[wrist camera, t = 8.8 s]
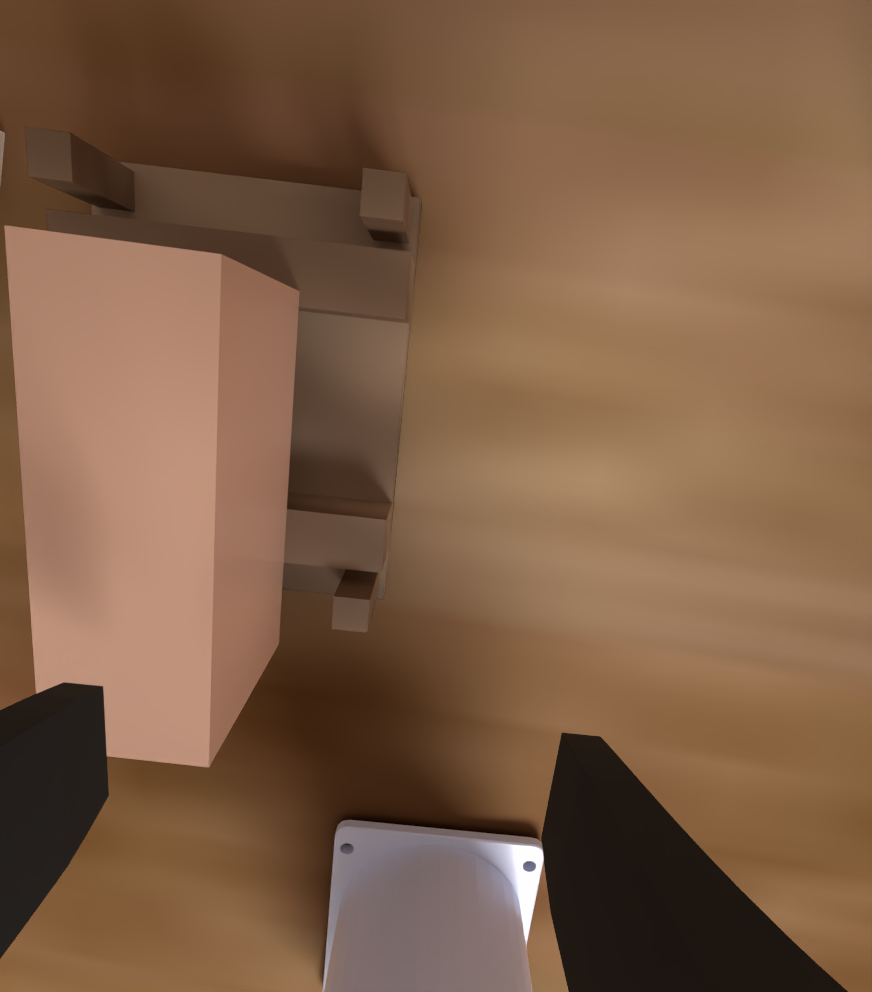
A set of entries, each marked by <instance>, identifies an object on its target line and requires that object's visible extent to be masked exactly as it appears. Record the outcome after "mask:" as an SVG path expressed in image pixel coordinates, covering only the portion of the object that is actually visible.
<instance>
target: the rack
mask: <svg viewBox="0 0 872 992" xmlns="http://www.w3.org/2000/svg"><path fill="white" fill-rule="evenodd" d="M25 135H26V149H27V163H28V177H31V178H33V179H35V180H37V181H40V182H42V183H44V184H47V185H49V186H51V187H53V188H56V189H58V190H60V191H62V192H65V193H67V194H69V195H71V196H74V197H76V198H78V199H80V200H83V201H85V202H87V203H89V204H91V210H92V214H85V213H77V212H68V211H60V210H51V209H46V216H47V231H51V232H59V233H66V234H74V235H82V236H89V237H97V238H104V239H112V240H119V241H127V242H134V243H142V244H149V245H157V246H164V247H172V248H179V249H187V250H194V251H202V252H209V253H217V254H222V255H224V256H226V257H229V258H231V259H233V260H235V261H237V262H239V263H241V264H243V265H245V266H247V267H249V268H252V269H254V270H256V271H258V272H260V273H262V274H264V275H266V276H268V277H270V278H273V279H275V280H277V281H279V282H281V283H283V284H285V285H287V286H289V287H291V288H293V289H296V290H298V291H300V294H299V311H298V328H297V345H296V362H295V379H294V396H293V413H292V430H291V446H290V463H289V480H288V497H287V514H286V531H285V548H284V565H283V582H282V589H286V590H296V591H305V592H315V593H324V594H334V598H333V613H332V627H331V629H336V630H345V631H355V632H365V633H367V631H368V627H369V623H370V620H371V616H372V612H373V609H374V605H375V601H376V599H381V600H383V598H384V594H385V590H386V579H387V569H388V558H389V548H390V537H391V526H392V516H393V505H394V495H395V484H396V473H397V463H398V452H399V441H400V431H401V420H402V410H403V399H404V388H405V378H406V367H407V357H408V346H409V335H410V325H411V314H412V303H413V293H414V282H415V272H416V261H417V250H418V240H419V229H420V219H421V208H422V204H421V198H419V197H411V193H410V187H409V182H408V176H407V173H403V172H394V171H386V170H378V169H370V168H363V175H362V189H361V190H352V189H344V188H336V187H327V186H319V185H311V184H302V183H294V182H286V181H277V180H269V179H261V178H252V177H244V176H236V175H227V174H219V173H210V172H202V171H194V170H185V169H177V168H169V167H160V166H152V165H144V164H135V163H127V162H119V161H116V160H114V159H113V158H111V157H109V156H108V155H106V154H104V153H103V152H101V151H100V150H98V149H96V148H95V147H93V146H91V145H90V144H88V143H86V142H85V141H83V140H82V139H80V138H78V137H77V136H75V135H73V134H72V133H70V132H63V131H54V130H46V129H38V128H29V127H25Z"/></svg>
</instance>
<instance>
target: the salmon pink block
mask: <svg viewBox="0 0 872 992" xmlns="http://www.w3.org/2000/svg"><path fill="white" fill-rule="evenodd" d="M4 226H5V241H6V256H7V271H8V285H9V300H10V315H11V330H12V345H13V359H14V374H15V389H16V404H17V418H18V433H19V448H20V463H21V478H22V492H23V507H24V522H25V537H26V551H27V566H28V581H29V596H30V611H31V625H32V640H33V655H34V670H35V684H36V694H37V693H39V692H41V691H44V690H46V689H49V688H51V687H54V686H56V685H59V684H61V683H63V682H66V683H76V684H86V685H96V686H103V691H104V711H105V732H106V752H107V756H111V757H120V758H129V759H138V760H147V761H156V762H165V763H174V764H182V765H191V766H200V767H209V766H210V765H211V763H212V761H213V759H214V758H215V756H216V754H217V752H218V750H219V749H220V747H221V745H222V743H223V742H224V740H225V738H226V736H227V735H228V733H229V731H230V729H231V728H232V726H233V724H234V722H235V721H236V719H237V717H238V715H239V713H240V712H241V710H242V708H243V706H244V705H245V703H246V701H247V699H248V698H249V696H250V694H251V692H252V691H253V689H254V687H255V685H256V684H257V682H258V680H259V678H260V677H261V675H262V673H263V671H264V669H265V668H266V666H267V664H268V662H269V661H270V659H271V657H272V655H273V654H274V652H275V650H276V648H277V647H278V645H279V633H280V616H281V599H282V582H283V565H284V548H285V531H286V514H287V497H288V480H289V463H290V446H291V430H292V413H293V396H294V379H295V362H296V345H297V328H298V311H299V294H300V291H298V290H296V289H293V288H291V287H289V286H287V285H285V284H283V283H281V282H279V281H277V280H275V279H273V278H270V277H268V276H266V275H264V274H262V273H260V272H258V271H256V270H254V269H252V268H249V267H247V266H245V265H243V264H241V263H239V262H237V261H235V260H233V259H231V258H229V257H226V256H224V255H222V254H217V253H209V252H202V251H194V250H187V249H179V248H172V247H164V246H157V245H149V244H142V243H134V242H127V241H119V240H112V239H104V238H97V237H89V236H82V235H74V234H66V233H59V232H51V231H44V230H36V229H29V228H21V227H14V226H6V225H4Z"/></svg>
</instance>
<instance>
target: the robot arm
mask: <svg viewBox="0 0 872 992" xmlns="http://www.w3.org/2000/svg"><path fill="white" fill-rule="evenodd" d="M108 796H109V793H108V772H107V752H106V732H105V711H104V691H103V686H96V685H86V684H76V683H66V682H63V683H61V684H59V685H56V686H54V687H51V688H49V689H46V690H44V691H41V692H39V693H37V694H35V695H32V696H30V697H28V698H26V699H24V700H21V701H19V702H17V703H15V704H13V705H11V706H9V707H6V708H4V709H2V710H0V958H1V957H2V956H3V954H4V953H5V952H6V950H7V949H8V947H9V946H10V945H11V943H12V942H13V941H14V939H15V938H16V937H17V935H18V934H19V933H20V931H21V930H22V929H23V927H24V926H25V924H26V923H27V922H28V920H29V919H30V918H31V916H32V915H33V913H34V912H35V911H36V909H37V908H38V907H39V905H40V904H41V902H42V901H43V900H44V898H45V897H46V896H47V894H48V893H49V891H50V890H51V889H52V887H53V886H54V885H55V883H56V882H57V880H58V879H59V878H60V876H61V875H62V873H63V872H64V870H65V869H66V868H67V866H68V865H69V863H70V861H71V860H72V858H73V856H74V855H75V853H76V851H77V850H78V848H79V846H80V845H81V843H82V841H83V840H84V838H85V836H86V835H87V833H88V831H89V829H90V828H91V826H92V824H93V822H94V821H95V819H96V817H97V815H98V814H99V812H100V810H101V808H102V806H103V805H104V803H105V801H106V799H107V798H108ZM541 839H542V843H541V842H540V841H539V840H538V839H536V838H532V837H522V836H512V835H501V834H491V833H481V832H471V831H460V830H450V829H440V828H430V827H419V826H409V825H399V824H389V823H378V822H368V821H358V820H344V821H342V822H340V823H339V824H338V826H337V829H336V833H335V841H334V854H333V866H332V879H331V892H330V905H329V917H328V930H327V943H326V955H325V968H324V981H323V992H533V990H532V983H531V976H530V969H529V962H528V955H527V948H526V945H527V940H528V935H529V930H530V925H531V920H532V915H533V910H534V905H535V900H536V895H537V890H538V885H539V880H540V875H541V870H542V865H543V860H544V864H545V873H546V881H547V888H548V895H549V903H550V910H551V915H552V920H553V924H554V929H555V933H556V938H557V942H558V946H559V951H560V955H561V959H562V964H563V968H564V972H565V977H566V981H567V985H568V990H569V992H848V991H847V990H845V989H844V988H843V987H842V986H841V985H840V984H839V983H838V982H836V981H835V980H834V979H833V978H832V977H831V976H830V975H829V974H828V973H826V972H825V971H824V970H823V969H822V968H821V967H820V966H819V965H818V964H817V963H815V962H814V961H813V960H812V959H811V958H810V957H809V956H808V955H807V954H806V953H805V952H804V951H803V950H802V949H801V948H799V947H798V946H797V945H796V944H795V943H794V942H793V941H792V940H791V939H790V938H789V937H788V936H787V935H786V934H785V933H784V932H783V931H782V930H781V929H780V928H779V927H778V926H777V925H776V924H775V923H774V922H773V921H772V920H771V919H770V918H769V917H768V916H767V915H766V914H765V913H764V912H763V911H762V910H761V909H760V908H759V907H758V906H757V905H755V904H754V903H753V902H752V901H751V900H750V899H749V898H748V897H747V896H746V895H745V894H744V893H743V892H742V891H741V890H740V889H739V888H738V887H737V886H736V885H735V884H734V883H733V881H732V880H731V879H730V878H729V877H728V876H727V875H726V874H725V873H724V872H723V871H722V870H721V869H720V868H719V867H718V866H717V865H716V864H715V863H714V862H713V861H712V860H711V859H710V858H709V857H708V855H707V854H706V853H705V852H704V851H703V850H702V849H701V848H700V847H699V846H698V845H697V844H696V843H695V842H694V841H693V839H692V838H691V837H690V836H689V835H688V834H687V833H686V832H685V831H684V830H683V829H682V827H681V826H680V825H679V824H678V823H677V822H676V821H675V820H674V819H673V818H672V816H671V815H670V814H669V813H668V812H667V811H666V810H665V809H664V808H663V807H662V805H661V804H660V803H659V802H658V801H657V800H656V799H655V797H654V796H653V795H652V794H651V793H650V792H649V791H648V790H647V788H646V787H645V786H644V785H643V784H642V783H641V782H640V781H639V779H638V778H637V777H636V776H635V775H634V774H633V773H632V771H631V770H630V769H629V768H628V767H627V766H626V765H625V763H624V762H623V761H622V760H621V759H620V758H619V757H618V756H617V754H616V753H615V752H614V751H613V750H612V749H611V748H610V747H609V746H608V744H607V743H606V742H605V741H604V740H603V739H602V738H601V737H599V736H589V735H579V734H569V733H562V735H561V740H560V745H559V750H558V755H557V760H556V766H555V771H554V776H553V781H552V786H551V791H550V796H549V801H548V806H547V811H546V816H545V822H544V827H543V832H542V837H541ZM345 843H348V844H351V845H346V844H345ZM526 861H531V862H528V863H526Z"/></svg>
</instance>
